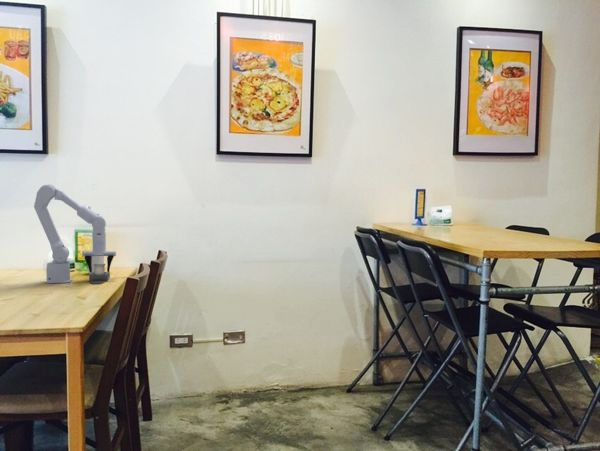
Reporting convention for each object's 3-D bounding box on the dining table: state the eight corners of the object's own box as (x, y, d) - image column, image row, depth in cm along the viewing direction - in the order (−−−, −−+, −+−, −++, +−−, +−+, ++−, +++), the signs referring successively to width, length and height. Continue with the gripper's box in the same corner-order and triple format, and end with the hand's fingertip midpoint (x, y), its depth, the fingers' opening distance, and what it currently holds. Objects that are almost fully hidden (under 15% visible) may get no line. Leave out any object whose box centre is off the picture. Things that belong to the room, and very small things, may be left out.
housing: (89, 281, 231) (88, 275, 231) (91, 278, 239) (91, 272, 238) (107, 281, 233) (107, 274, 233) (109, 277, 240) (109, 271, 240)
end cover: (93, 281, 233) (92, 265, 232) (94, 278, 237) (94, 263, 237) (104, 280, 234) (104, 264, 233) (106, 278, 239) (105, 263, 238)
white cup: (87, 272, 253) (86, 252, 252) (103, 271, 256) (103, 252, 256) (87, 275, 246) (87, 255, 245) (105, 274, 249) (104, 254, 248)
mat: (89, 284, 225) (89, 283, 225) (91, 281, 231) (91, 280, 231) (103, 284, 226) (103, 283, 226) (105, 281, 232) (105, 280, 232)
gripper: (80, 243, 229) (81, 273, 230) (114, 243, 232) (115, 272, 233) (83, 242, 235) (83, 270, 237) (116, 241, 239) (116, 270, 240)
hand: (99, 271), depth 235 cm, fingers open, 7 cm apart
